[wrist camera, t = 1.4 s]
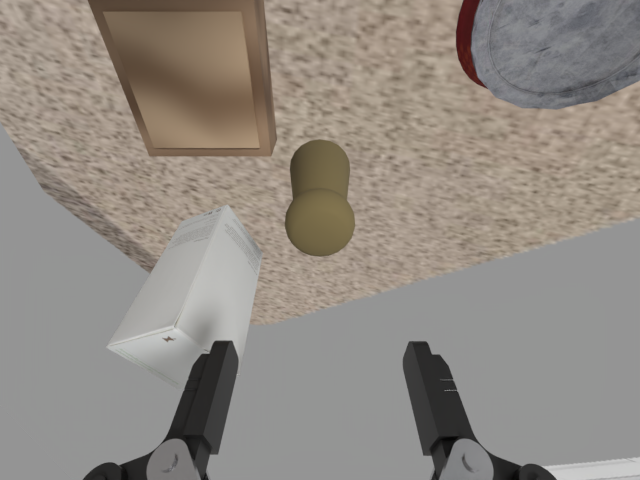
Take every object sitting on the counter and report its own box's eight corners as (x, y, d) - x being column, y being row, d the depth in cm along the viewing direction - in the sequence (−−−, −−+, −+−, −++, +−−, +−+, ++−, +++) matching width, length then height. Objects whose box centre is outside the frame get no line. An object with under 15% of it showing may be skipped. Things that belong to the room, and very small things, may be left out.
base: (122, -3, 20) (82, -7, 16) (263, -3, 20) (252, -6, 16) (169, 139, 26) (147, 157, 23) (277, 139, 26) (270, 157, 23)
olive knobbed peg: (283, 187, 29) (268, 258, 21) (298, 130, 26) (288, 188, 17) (337, 202, 30) (344, 276, 22) (359, 150, 27) (378, 214, 18)
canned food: (491, 79, 27) (496, 157, 23) (431, -8, 22) (424, 71, 18) (675, -35, 18) (737, 58, 14) (642, -218, 14) (720, -159, 9)
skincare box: (181, 218, 32) (95, 345, 20) (231, 200, 30) (172, 325, 18) (223, 268, 37) (174, 393, 24) (268, 254, 35) (240, 381, 23)
